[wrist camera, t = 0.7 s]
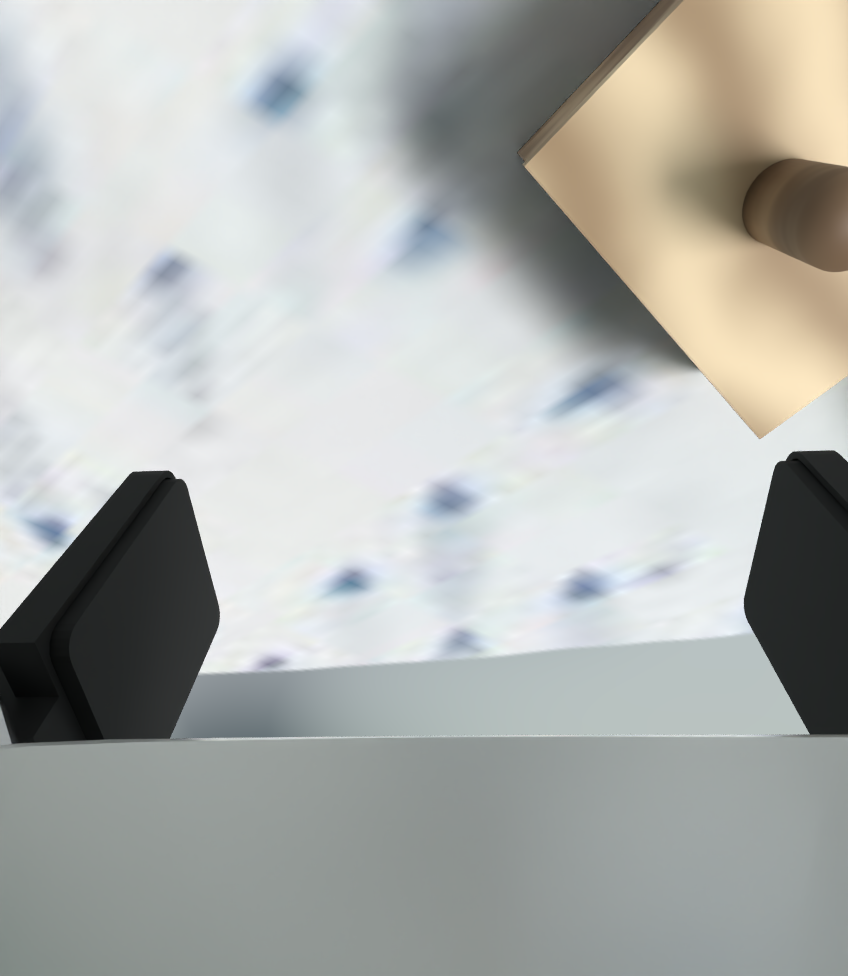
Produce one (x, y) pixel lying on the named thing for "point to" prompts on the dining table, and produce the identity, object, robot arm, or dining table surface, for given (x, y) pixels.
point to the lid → (724, 192)
